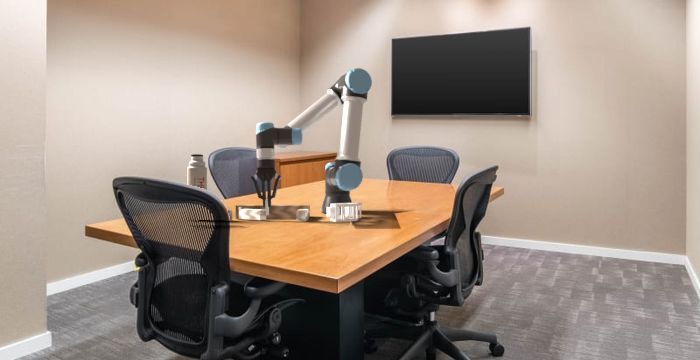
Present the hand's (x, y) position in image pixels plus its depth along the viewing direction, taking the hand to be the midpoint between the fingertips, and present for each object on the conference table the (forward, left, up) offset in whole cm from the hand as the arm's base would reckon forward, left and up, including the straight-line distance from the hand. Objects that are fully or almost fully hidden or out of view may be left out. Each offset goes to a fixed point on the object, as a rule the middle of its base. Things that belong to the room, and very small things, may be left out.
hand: (267, 215), depth 216 cm
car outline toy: (-30, +15, -3) cm, 34 cm away
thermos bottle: (+24, -17, -3) cm, 30 cm away
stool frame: (-7, -9, -2) cm, 11 cm away
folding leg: (+6, -12, -2) cm, 14 cm away
